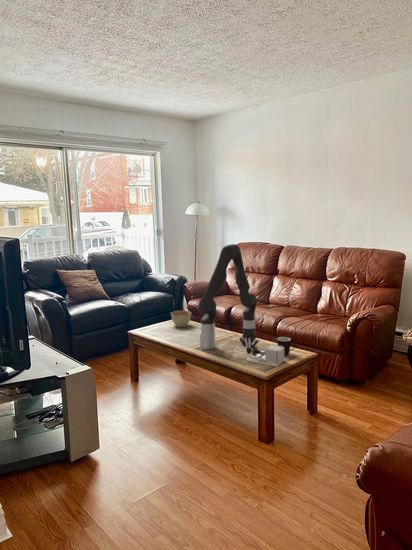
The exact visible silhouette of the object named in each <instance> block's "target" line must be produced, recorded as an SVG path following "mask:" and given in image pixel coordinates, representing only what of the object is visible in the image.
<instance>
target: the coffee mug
mask: <svg viewBox="0 0 412 550" xmlns="http://www.w3.org/2000/svg"><path fill="white" fill-rule="evenodd" d="M276 339H277V340H276V341H277V342H276V343H277V346H279V347H284V357H288V356H290V352H291V351H293V350H294V349H296V347H297V345H296V344H295V343H294V342H291V341H292V339H291V338H290V337H286V336H279V337H277V338H276ZM291 344H292V345H294V347H293V348H292V349H291Z"/></svg>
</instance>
